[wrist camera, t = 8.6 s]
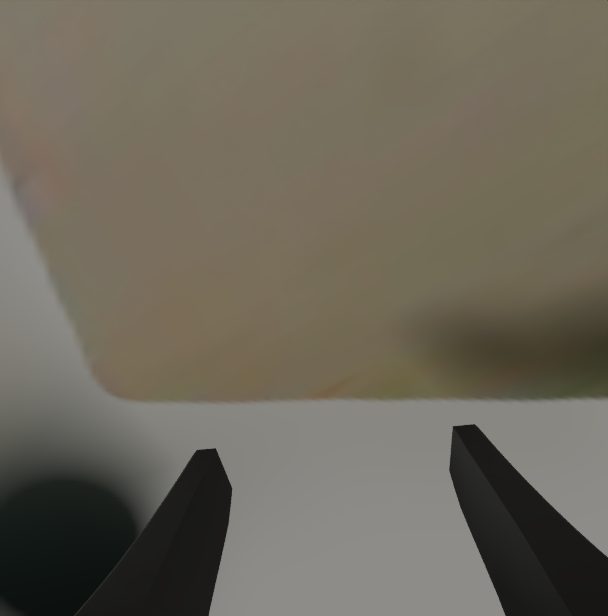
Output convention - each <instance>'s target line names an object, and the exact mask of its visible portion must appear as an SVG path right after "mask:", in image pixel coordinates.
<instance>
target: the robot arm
mask: <svg viewBox="0 0 608 616" xmlns="http://www.w3.org/2000/svg"><path fill="white" fill-rule="evenodd" d="M449 470H450V474H451V478H452V481H453V485H454V488H455V491H456V494H457V497H458V501H459V503H460V507H461V509H462V512H463V514H464V517H465V519H466V522H467V524H468V526H469V529H470V531H471V533H472V536H473V538H474V541H475V543H476V545H477V548H478V550H479V552H480V555H481V557H482V559H483V562H484V564H485V566H486V569H487V571H488V574H489V576H490V578H491V581H492V583H493V585H494V588H495V590H496V592H497V595H498V597H499V600H500V602H501V605H502V608H503V610H504V613H505V615H506V616H608V557H607V556H606V555H604V554H603V553H602V552H601V551H600V550H599V549H597V548H596V547H595V546H594V545H593V544H592V543H591V542H590V541H588V540H587V539H586V538H585V537H584V536H583V535H582V534H581V533H580V532H579V531H577V530H576V529H575V528H574V527H573V526H572V525H571V524H570V523H569V522H568V521H567V520H566V519H565V518H563V516H562V515H561V514H559V513H558V512H557V511H556V510H555V509H554V508H553V507H552V506H551V505H550V504H549V503H548V502H547V501H546V500H545V499H544V498H543V497H542V496H541V495H540V494H539V493H538V492H537V491H536V490H535V489H534V488H533V487H532V486H531V485H530V484H529V483H528V482H527V481H526V480H525V479H524V478H523V477H522V476H521V474H520V473H519V472H518V471H517V470H516V469H515V468H514V467H513V466H512V465H511V464H510V463H509V462H508V461H507V459H506V458H505V457H504V456H503V455H502V454H501V453H500V452H499V451H498V450H497V449H496V447H495V446H494V445H493V444H492V443H491V442H490V441H489V440H488V438H487V437H486V436H485V435H484V434H483V432H482V431H481V430H480V429H479V428H478V427H477V426H476V425H475V424H473V425H463V426H453V432H452V444H451V457H450V469H449ZM231 496H232V487H231V484H230V482H229V480H228V477H227V475H226V472H225V470H224V467H223V465H222V463H221V460H220V458H219V456H218V453H217V450H216V449H204V450H197V451H196V452H195V453H194V455H193V456H192V458H191V459H190V461H189V462H188V464H187V465H186V467H185V469H184V470H183V472H182V473H181V475H180V476H179V478H178V479H177V481H176V482H175V484H174V486H173V487H172V489H171V490H170V492H169V493H168V495H167V496H166V498H165V499H164V501H163V502H162V503H161V505H160V506H159V508H158V509H157V511H156V512H155V514H154V515H153V517H152V518H151V519H150V521H149V522H148V524H147V525H146V527H145V528H144V529H143V531H142V532H141V533H140V535H139V536H138V537H137V539H136V540H135V542H134V543H133V544H132V546H131V547H130V548H129V550H128V551H127V552H126V554H125V555H124V556H123V558H122V559H121V560H120V562H119V563H118V564H117V565H116V567H115V568H114V569H113V570H112V572H111V573H110V574H109V575H108V577H107V578H106V579H105V580H104V582H103V583H102V584H101V585H100V586H99V588H98V589H97V590H96V591H95V593H94V594H93V595H92V596H91V597H90V598H89V600H88V601H87V602H86V603H85V604H84V605H83V606H82V608H81V609H80V610H79V611H78V612H77V613H76V614H75V615H74V616H209V610H210V606H211V601H212V597H213V592H214V588H215V583H216V579H217V574H218V570H219V565H220V561H221V556H222V551H223V547H224V542H225V538H226V533H227V528H228V523H229V515H230V506H231Z"/></svg>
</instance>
